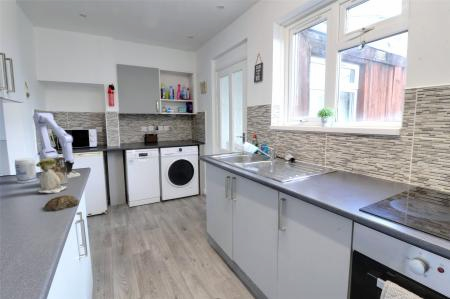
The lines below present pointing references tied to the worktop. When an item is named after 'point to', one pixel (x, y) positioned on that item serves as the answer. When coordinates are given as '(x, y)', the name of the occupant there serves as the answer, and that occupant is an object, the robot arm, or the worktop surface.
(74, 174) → the panel
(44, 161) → the off-white lumpy piece
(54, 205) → the bread roll
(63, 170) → the coffee box
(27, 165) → the supplement tub
